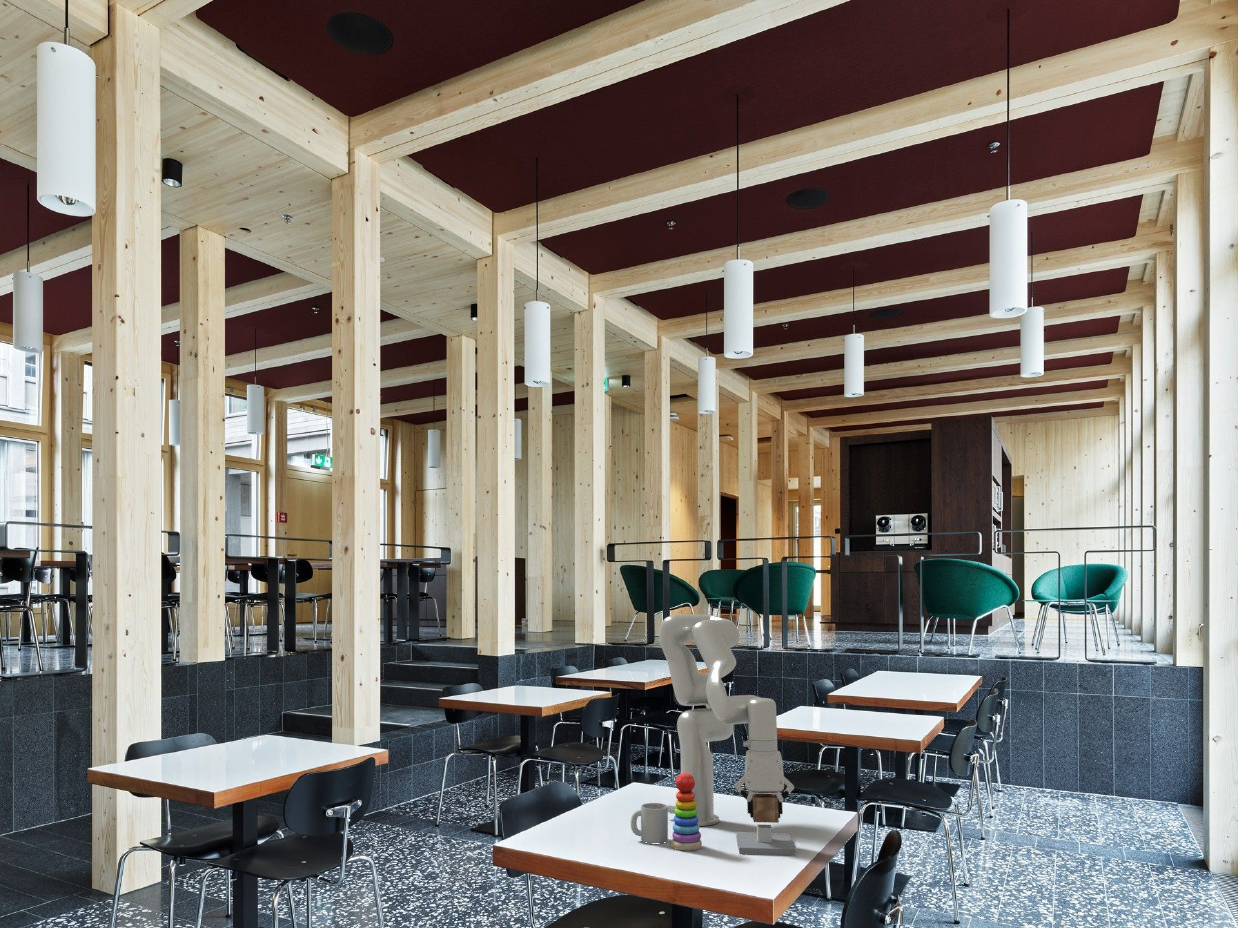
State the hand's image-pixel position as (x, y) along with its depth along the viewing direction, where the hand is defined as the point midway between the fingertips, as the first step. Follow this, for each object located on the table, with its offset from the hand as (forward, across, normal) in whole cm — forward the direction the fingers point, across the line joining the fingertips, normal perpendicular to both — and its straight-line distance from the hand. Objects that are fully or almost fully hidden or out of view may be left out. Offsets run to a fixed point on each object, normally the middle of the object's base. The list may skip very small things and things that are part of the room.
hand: (765, 815), depth 228 cm
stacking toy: (+8, -21, -3) cm, 22 cm away
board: (+8, 0, 0) cm, 8 cm away
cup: (+8, -31, +2) cm, 32 cm away
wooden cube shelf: (+1, 0, 0) cm, 1 cm away
